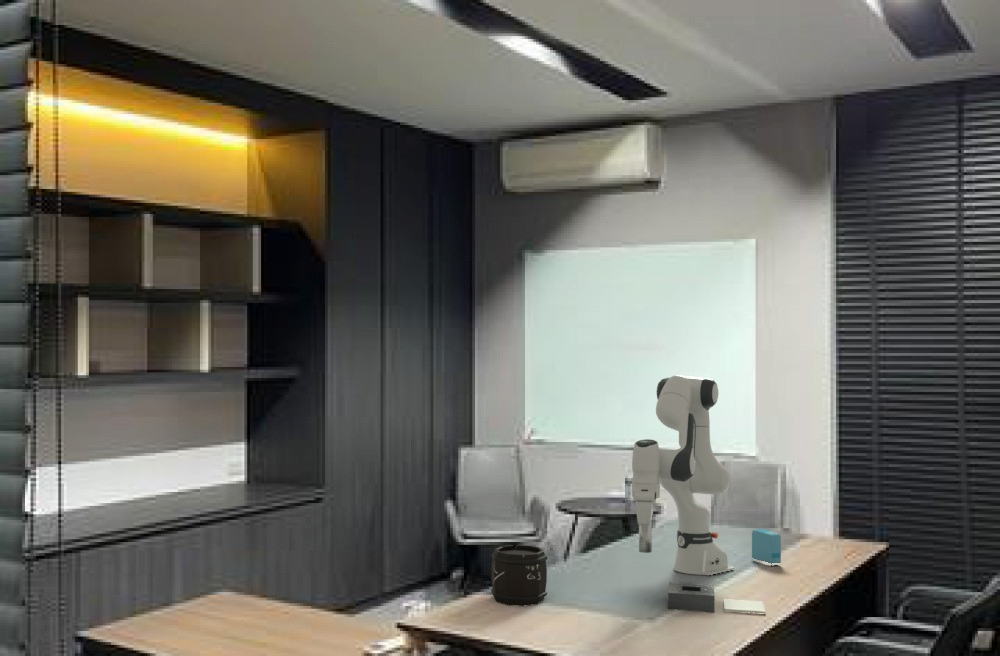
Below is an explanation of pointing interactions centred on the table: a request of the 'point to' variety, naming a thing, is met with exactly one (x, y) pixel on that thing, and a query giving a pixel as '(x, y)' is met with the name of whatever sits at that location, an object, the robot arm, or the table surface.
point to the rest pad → (743, 606)
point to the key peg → (645, 540)
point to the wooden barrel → (519, 575)
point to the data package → (766, 546)
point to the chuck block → (691, 597)
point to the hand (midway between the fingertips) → (645, 535)
